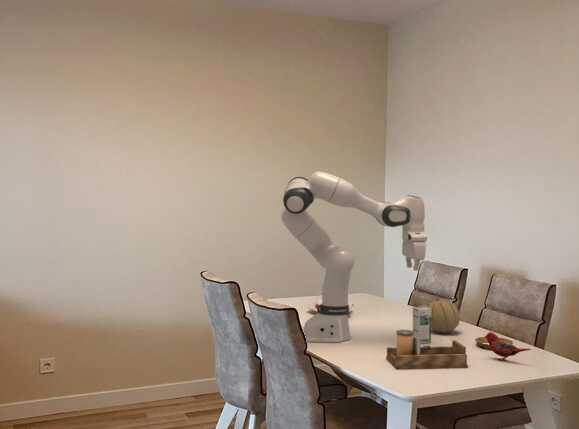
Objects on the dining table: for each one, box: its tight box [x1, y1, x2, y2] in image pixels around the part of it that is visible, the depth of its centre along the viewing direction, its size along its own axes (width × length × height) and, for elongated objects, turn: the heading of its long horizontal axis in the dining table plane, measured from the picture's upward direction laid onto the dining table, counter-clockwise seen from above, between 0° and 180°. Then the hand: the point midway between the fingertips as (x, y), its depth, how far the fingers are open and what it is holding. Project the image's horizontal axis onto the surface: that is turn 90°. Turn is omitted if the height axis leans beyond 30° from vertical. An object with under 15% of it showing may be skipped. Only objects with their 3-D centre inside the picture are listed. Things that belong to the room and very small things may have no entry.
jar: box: [396, 329, 414, 355], centre depth 229 cm, size 6×6×11 cm
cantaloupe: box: [428, 298, 461, 334], centre depth 281 cm, size 15×15×15 cm
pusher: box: [413, 334, 432, 355], centre depth 230 cm, size 6×9×9 cm
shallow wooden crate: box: [385, 340, 469, 371], centre depth 230 cm, size 26×14×7 cm, turn 97°
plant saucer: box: [474, 336, 514, 350], centre depth 256 cm, size 15×15×3 cm
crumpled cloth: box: [307, 294, 355, 313], centre depth 320 cm, size 24×35×9 cm
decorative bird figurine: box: [484, 331, 532, 362], centre depth 234 cm, size 3×18×10 cm, turn 50°
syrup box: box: [412, 305, 432, 344], centre depth 263 cm, size 6×6×14 cm
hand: (412, 269), depth 258 cm, fingers open, 8 cm apart
